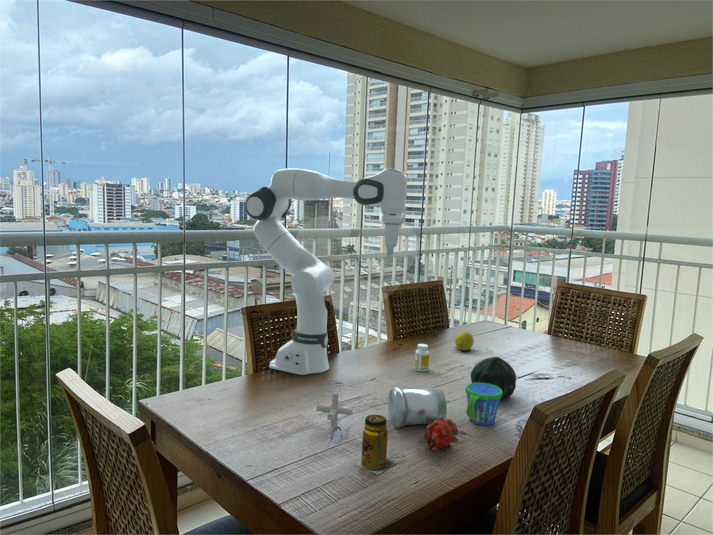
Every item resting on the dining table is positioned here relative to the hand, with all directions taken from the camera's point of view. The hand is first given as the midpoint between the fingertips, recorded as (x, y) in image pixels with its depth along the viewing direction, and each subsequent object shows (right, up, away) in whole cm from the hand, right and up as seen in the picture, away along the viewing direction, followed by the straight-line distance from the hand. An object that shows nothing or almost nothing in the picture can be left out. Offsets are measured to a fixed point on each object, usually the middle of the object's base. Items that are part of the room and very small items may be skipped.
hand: (389, 258), depth 179 cm
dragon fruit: (+11, -51, -41) cm, 66 cm away
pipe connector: (-18, -49, -31) cm, 60 cm away
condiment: (-6, -52, -50) cm, 72 cm away
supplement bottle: (+14, -43, +23) cm, 51 cm away
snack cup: (+26, -49, -22) cm, 60 cm away
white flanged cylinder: (+6, -49, -26) cm, 55 cm away
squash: (+35, -47, -1) cm, 59 cm away
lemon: (+36, -40, +53) cm, 76 cm away
